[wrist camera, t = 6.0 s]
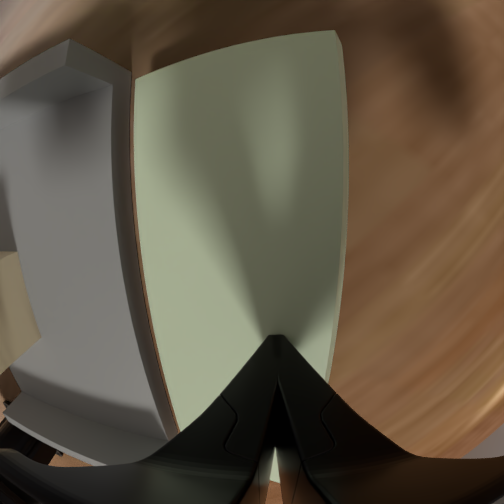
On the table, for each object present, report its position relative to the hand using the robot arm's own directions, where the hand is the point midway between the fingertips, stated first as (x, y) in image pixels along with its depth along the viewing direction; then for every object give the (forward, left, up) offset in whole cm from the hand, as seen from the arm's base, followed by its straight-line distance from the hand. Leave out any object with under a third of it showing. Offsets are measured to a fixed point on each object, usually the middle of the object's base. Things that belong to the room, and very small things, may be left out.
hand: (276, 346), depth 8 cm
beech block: (-15, 0, -2) cm, 15 cm away
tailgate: (-5, 0, -3) cm, 6 cm away
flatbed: (-13, 0, -4) cm, 13 cm away
